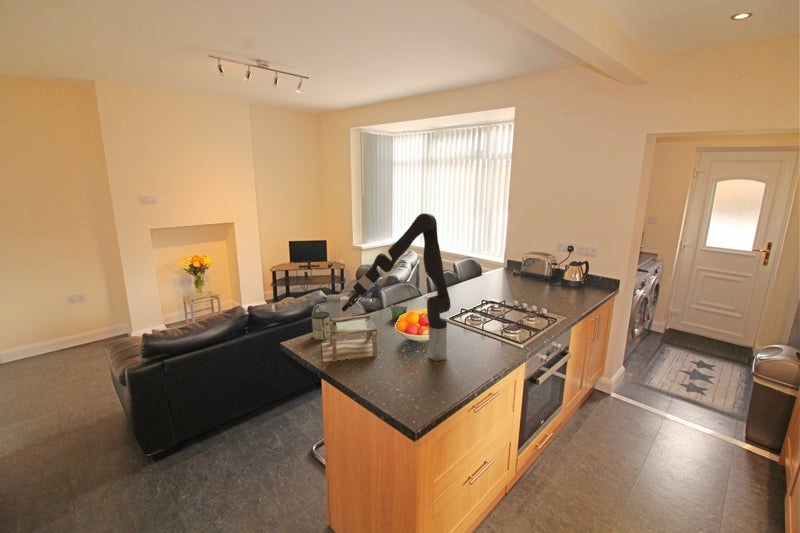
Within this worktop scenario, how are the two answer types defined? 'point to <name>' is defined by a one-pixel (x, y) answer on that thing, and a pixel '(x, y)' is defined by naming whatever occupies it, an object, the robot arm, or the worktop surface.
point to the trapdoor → (355, 325)
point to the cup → (430, 295)
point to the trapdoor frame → (349, 343)
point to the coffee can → (321, 325)
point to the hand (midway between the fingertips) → (342, 308)
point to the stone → (348, 312)
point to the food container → (397, 311)
